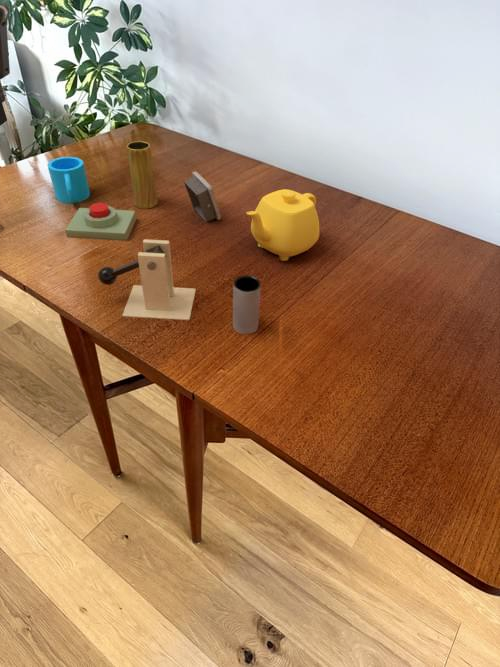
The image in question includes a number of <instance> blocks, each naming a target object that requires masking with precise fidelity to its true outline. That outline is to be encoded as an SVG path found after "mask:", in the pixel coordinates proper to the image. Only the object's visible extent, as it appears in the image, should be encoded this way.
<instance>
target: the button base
mask: <svg viewBox="0 0 500 667" xmlns="http://www.w3.org/2000/svg"><path fill="white" fill-rule="evenodd" d="M108 208H109V215H108V216H106V217H103V218H93V217H91V214H90V209H89V207H79V208H78V209H77V211H76V212H75V214H74V216H73V217H72V219H71V221H69V223H68V225H67V226H66V228H65V230H64V231H65V235H66V238H68V239H86V240H106V241H120V242H121V241H122V242H128V240H129V238H130V235H131V232H132V230H133V228H134V225H135V224H136V221H137V214H136V210H126V209H115V208H114V207H112V206H110V205H108Z"/></svg>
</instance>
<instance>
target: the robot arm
mask: <svg viewBox="0 0 500 667" xmlns="http://www.w3.org/2000/svg"><path fill="white" fill-rule="evenodd" d="M10 13H11V11H10V7H8V5H7V4H6V5H5V4H2V5H1V4H0V127H1V126H2V125H3V124H4V123H6V122H7V121H8V118H7V114H6V111H5V108H4V104H3V103H4V102H5V101H6V96H5V92H4V88H3V86H2V82H1V80H2V79H5V77H7V76H9V75H10V74H11V68H10V55H9V40H8V25H7V24H8V20H9V16H10Z"/></svg>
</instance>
